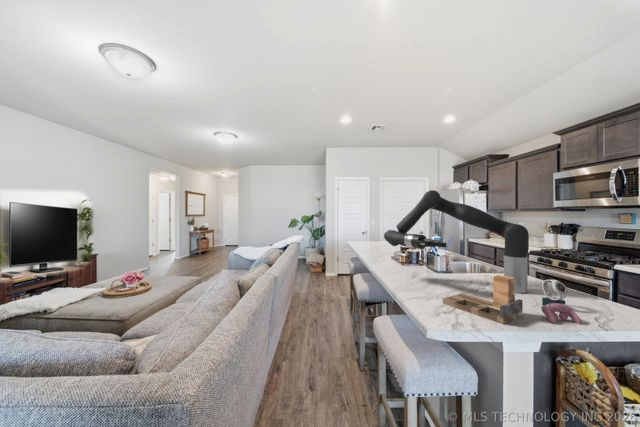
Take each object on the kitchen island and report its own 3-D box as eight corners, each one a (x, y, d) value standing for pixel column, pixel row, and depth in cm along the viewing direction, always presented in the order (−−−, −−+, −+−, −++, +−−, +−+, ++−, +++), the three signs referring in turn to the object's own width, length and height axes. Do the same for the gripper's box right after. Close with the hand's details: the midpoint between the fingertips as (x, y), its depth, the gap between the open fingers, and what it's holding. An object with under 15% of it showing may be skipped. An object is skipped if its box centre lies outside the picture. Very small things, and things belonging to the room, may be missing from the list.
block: (500, 305, 97) (499, 275, 97) (514, 309, 93) (514, 277, 93) (493, 307, 95) (493, 276, 95) (508, 311, 90) (507, 279, 90)
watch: (558, 310, 96) (558, 283, 96) (538, 303, 104) (537, 277, 104) (571, 310, 97) (570, 282, 97) (549, 302, 105) (549, 277, 105)
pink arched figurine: (572, 324, 88) (564, 303, 91) (584, 323, 84) (575, 302, 87) (544, 323, 88) (536, 303, 92) (554, 323, 84) (546, 302, 88)
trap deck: (462, 297, 112) (462, 284, 112) (522, 315, 92) (522, 300, 92) (442, 303, 105) (442, 289, 105) (503, 324, 85) (503, 307, 85)
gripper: (406, 234, 127) (436, 238, 112) (423, 233, 134) (453, 236, 118) (406, 249, 127) (436, 254, 112) (423, 247, 134) (454, 251, 119)
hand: (445, 245), depth 115 cm, fingers closed
